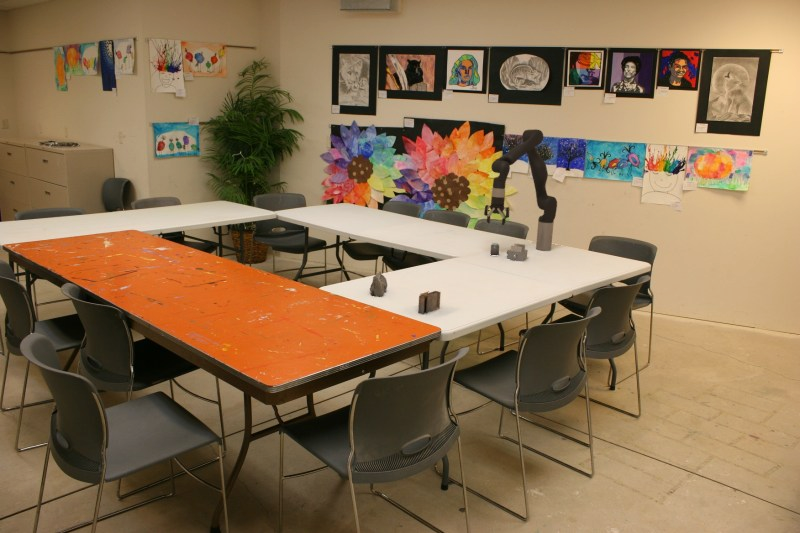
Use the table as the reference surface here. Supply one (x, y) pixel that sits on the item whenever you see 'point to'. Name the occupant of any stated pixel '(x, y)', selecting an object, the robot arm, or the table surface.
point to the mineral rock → (378, 285)
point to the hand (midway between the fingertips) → (495, 224)
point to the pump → (494, 249)
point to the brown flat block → (429, 301)
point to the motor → (517, 252)
